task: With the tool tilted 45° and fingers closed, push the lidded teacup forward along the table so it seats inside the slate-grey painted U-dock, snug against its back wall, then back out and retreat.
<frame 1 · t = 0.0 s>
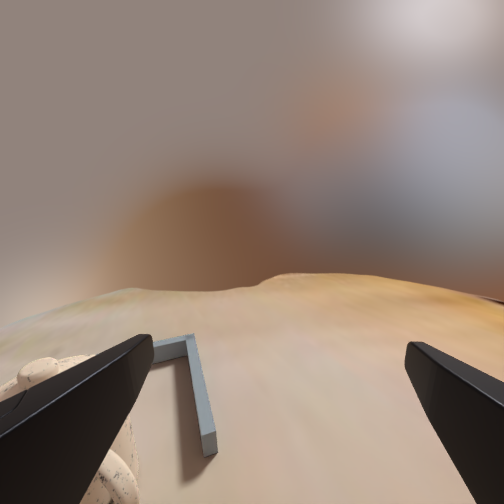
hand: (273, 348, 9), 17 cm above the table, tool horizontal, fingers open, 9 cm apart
dock: (103, 442, 22), on the table
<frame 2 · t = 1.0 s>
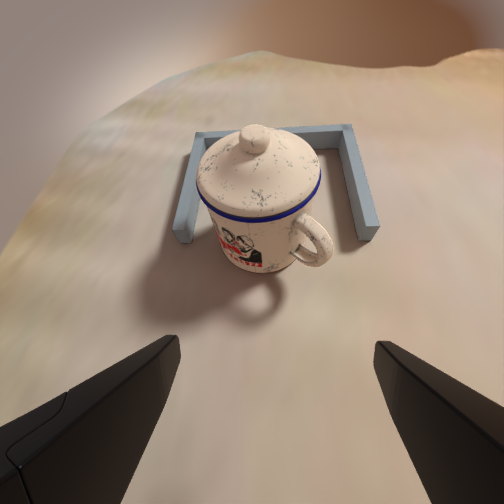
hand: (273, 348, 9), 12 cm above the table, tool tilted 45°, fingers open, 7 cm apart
teacup with lid: (272, 246, 25), on the table
dock: (272, 206, 27), on the table
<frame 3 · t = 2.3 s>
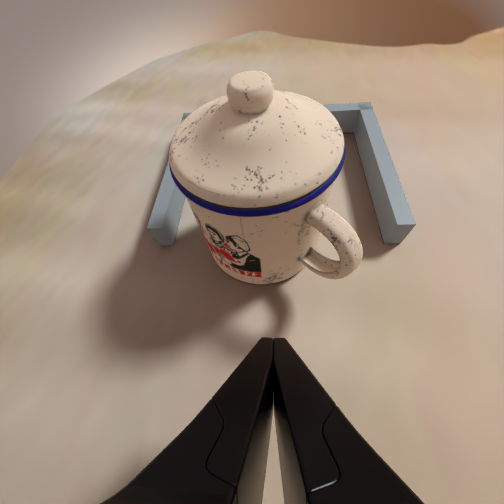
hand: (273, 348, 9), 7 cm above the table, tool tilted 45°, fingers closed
teacup with lid: (274, 249, 20), on the table
dock: (274, 201, 22), on the table
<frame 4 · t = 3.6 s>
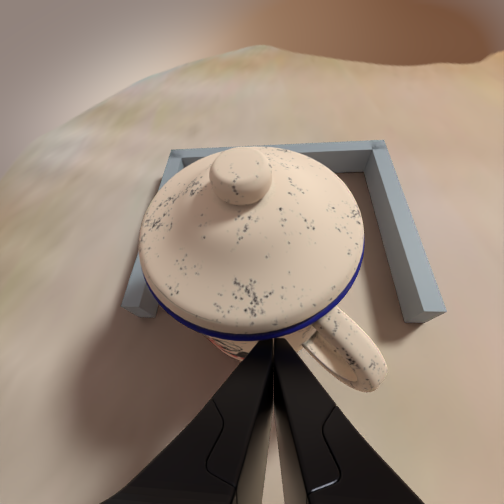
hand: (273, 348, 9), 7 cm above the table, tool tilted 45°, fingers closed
teacup with lid: (273, 314, 17), on the table, touching gripper
dock: (273, 260, 19), on the table
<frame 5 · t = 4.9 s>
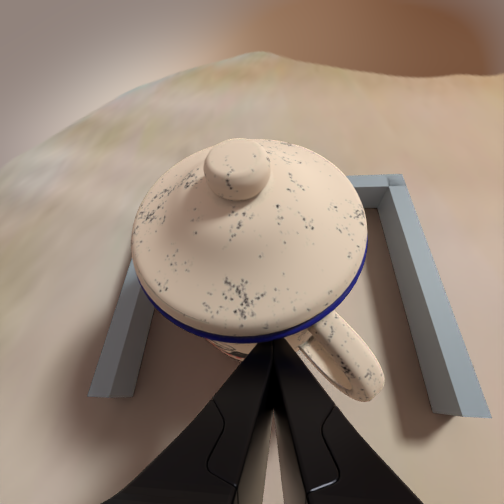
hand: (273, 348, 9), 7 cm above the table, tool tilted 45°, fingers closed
teacup with lid: (272, 313, 17), on the table, touching gripper
dock: (274, 321, 16), on the table
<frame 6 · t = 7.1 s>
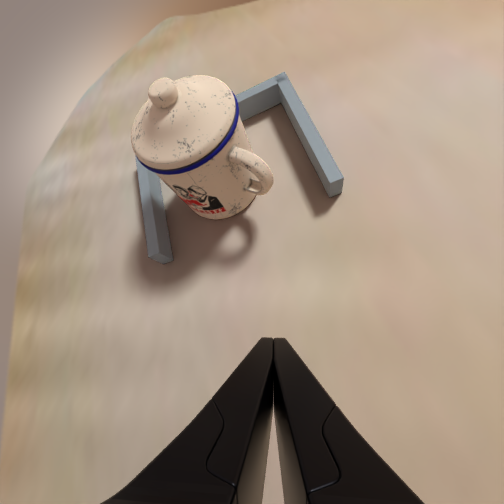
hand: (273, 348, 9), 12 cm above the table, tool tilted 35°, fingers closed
teacup with lid: (234, 191, 27), on the table
dock: (235, 194, 26), on the table
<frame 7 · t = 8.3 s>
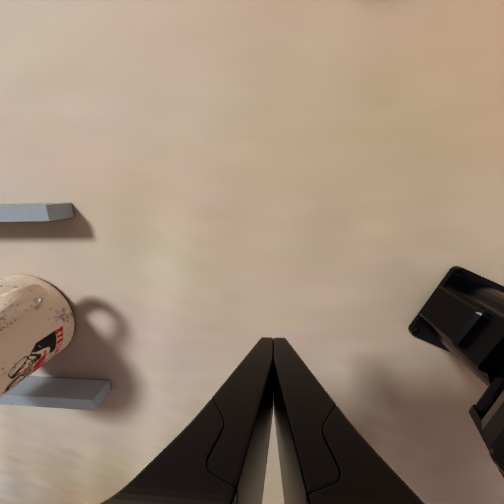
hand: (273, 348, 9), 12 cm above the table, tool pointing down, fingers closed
teacup with lid: (45, 305, 24), on the table
dock: (48, 305, 23), on the table
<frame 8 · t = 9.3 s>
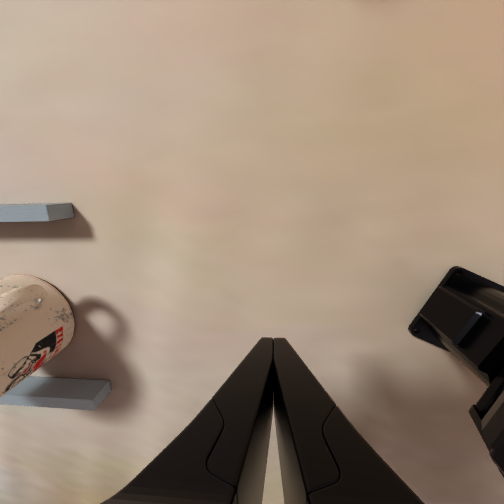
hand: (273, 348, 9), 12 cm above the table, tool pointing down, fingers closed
teacup with lid: (45, 305, 24), on the table
dock: (48, 305, 23), on the table
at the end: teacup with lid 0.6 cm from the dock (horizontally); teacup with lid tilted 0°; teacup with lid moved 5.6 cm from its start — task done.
